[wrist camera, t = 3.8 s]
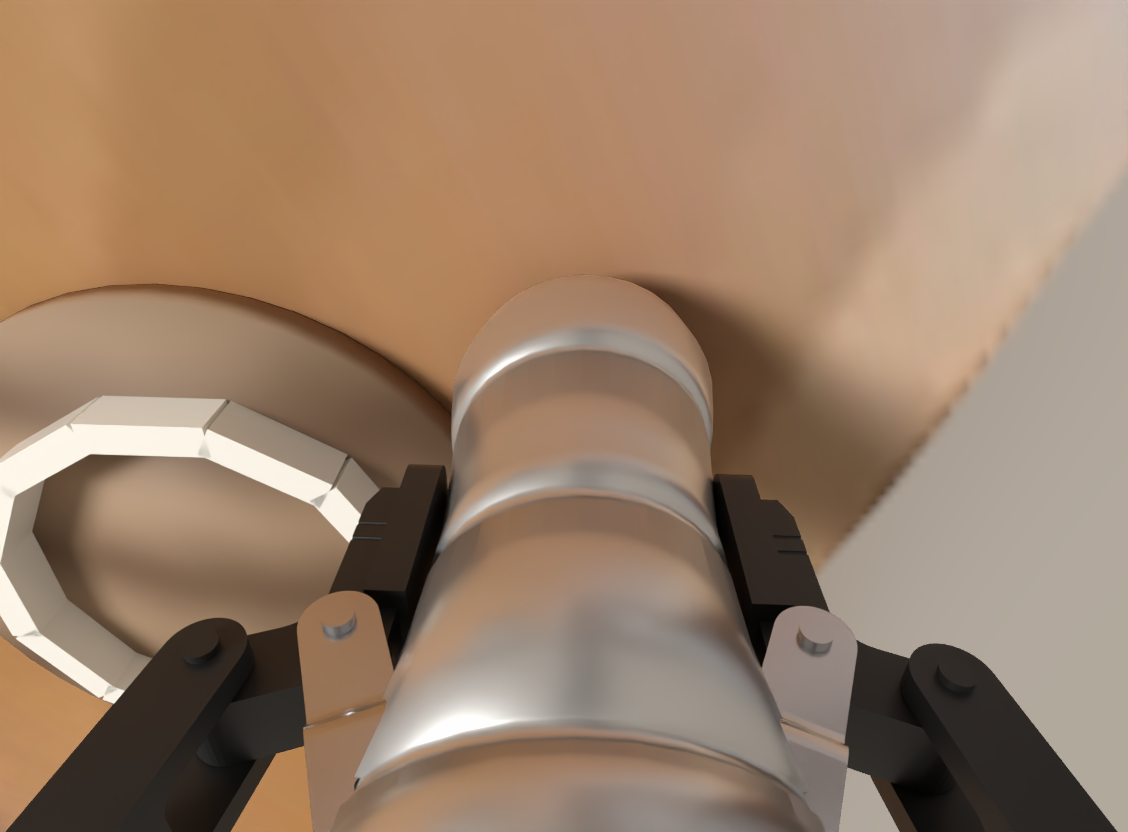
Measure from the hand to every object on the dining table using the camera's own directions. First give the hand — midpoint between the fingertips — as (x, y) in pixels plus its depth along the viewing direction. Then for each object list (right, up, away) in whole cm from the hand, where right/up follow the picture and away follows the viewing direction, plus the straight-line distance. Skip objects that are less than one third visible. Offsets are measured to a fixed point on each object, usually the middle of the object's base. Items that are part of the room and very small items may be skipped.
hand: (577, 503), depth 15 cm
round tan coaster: (-12, -3, +10) cm, 16 cm away
